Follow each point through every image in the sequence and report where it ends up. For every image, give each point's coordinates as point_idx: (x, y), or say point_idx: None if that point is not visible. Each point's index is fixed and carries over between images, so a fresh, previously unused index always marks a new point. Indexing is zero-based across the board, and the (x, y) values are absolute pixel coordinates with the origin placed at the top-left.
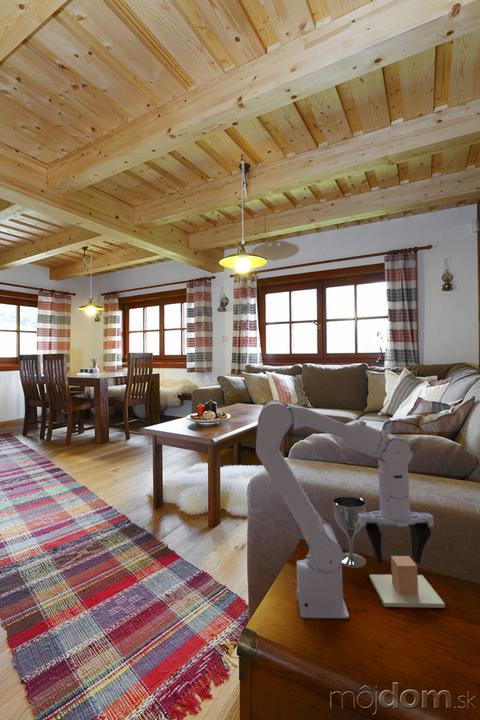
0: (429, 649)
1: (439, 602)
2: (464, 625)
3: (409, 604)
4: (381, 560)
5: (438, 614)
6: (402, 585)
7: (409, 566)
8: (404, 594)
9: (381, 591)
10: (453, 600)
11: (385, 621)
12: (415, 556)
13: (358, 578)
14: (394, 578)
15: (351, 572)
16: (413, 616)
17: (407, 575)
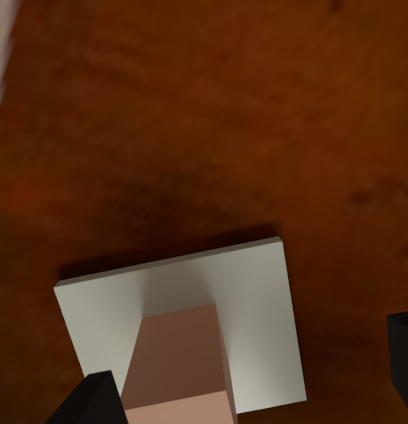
0: (157, 31)
1: (71, 290)
2: (8, 198)
3: (185, 259)
4: (400, 321)
5: (89, 238)
6: (201, 327)
7: (159, 400)
8: (194, 308)
9: (279, 307)
10: (22, 328)
11: (290, 152)
12: (106, 420)
13: (344, 378)
14: (227, 366)
15: (364, 407)
16: (181, 206)
17: (175, 362)
